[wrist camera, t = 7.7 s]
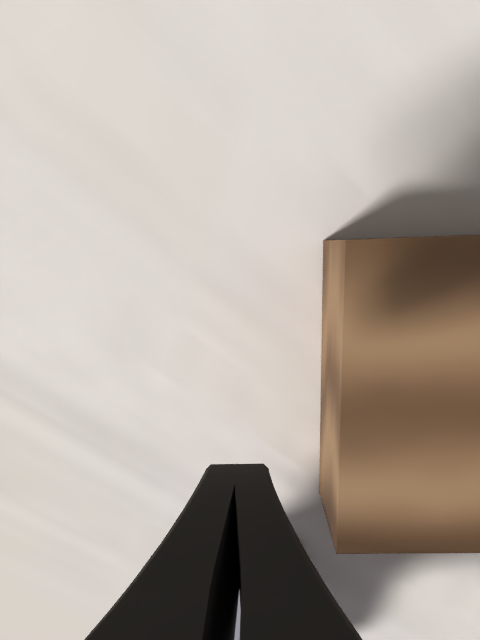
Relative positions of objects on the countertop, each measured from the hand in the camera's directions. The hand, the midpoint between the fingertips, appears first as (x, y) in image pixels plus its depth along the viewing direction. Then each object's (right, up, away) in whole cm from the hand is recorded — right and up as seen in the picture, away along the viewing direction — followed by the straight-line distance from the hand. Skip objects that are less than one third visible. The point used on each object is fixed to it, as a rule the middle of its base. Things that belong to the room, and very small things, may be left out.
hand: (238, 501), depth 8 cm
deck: (+9, +1, +10) cm, 14 cm away
